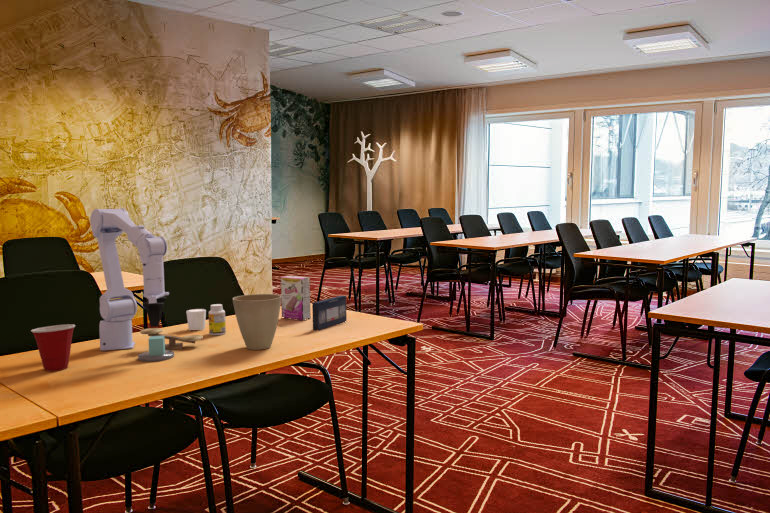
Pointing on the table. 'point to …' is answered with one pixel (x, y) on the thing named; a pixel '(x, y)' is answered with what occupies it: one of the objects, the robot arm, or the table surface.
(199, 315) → the white cup
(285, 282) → the candy bar box
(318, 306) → the vhs cassette tape
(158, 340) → the block
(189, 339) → the balance
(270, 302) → the plant pot
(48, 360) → the plastic cup
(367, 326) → the table surface
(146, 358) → the dish
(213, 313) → the supplement bottle
